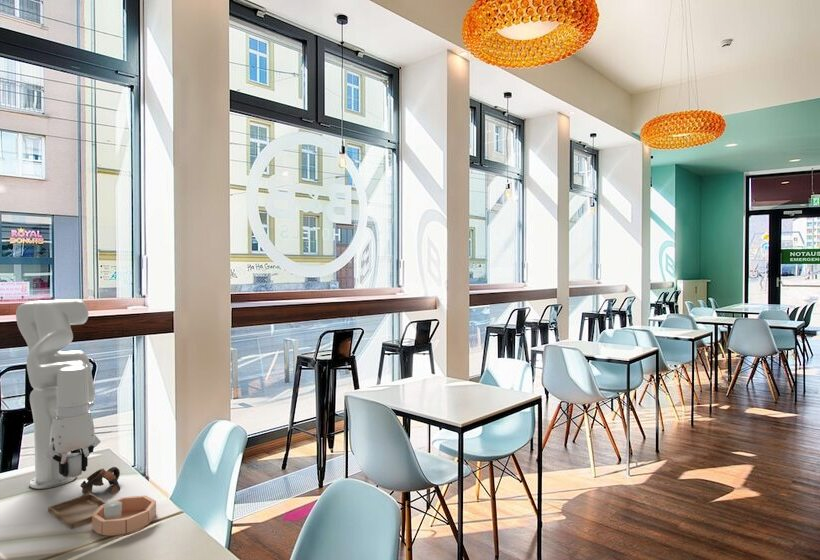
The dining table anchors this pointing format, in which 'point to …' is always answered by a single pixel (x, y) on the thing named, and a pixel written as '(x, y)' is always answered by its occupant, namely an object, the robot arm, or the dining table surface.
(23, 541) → the dining table surface
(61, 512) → the tray
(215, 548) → the dining table surface
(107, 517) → the stone
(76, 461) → the stone
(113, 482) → the brown piece
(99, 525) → the bowl
